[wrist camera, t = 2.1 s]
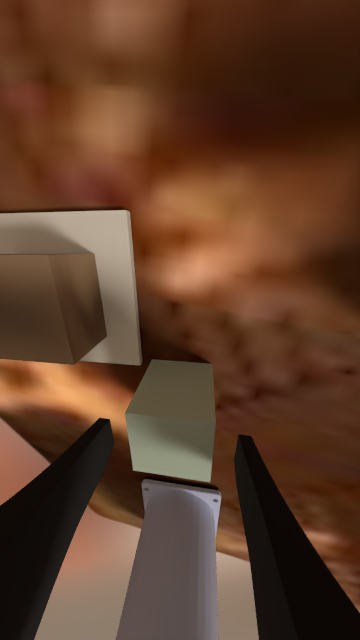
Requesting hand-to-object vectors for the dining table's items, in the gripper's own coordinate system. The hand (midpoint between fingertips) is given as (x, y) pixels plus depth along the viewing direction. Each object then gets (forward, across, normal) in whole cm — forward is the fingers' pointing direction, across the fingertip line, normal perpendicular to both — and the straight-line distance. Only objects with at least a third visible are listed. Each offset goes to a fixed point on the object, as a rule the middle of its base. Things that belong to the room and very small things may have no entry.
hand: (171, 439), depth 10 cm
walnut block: (+4, +8, -7) cm, 11 cm away
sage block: (+4, 0, 0) cm, 5 cm away
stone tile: (+4, +8, -7) cm, 11 cm away
